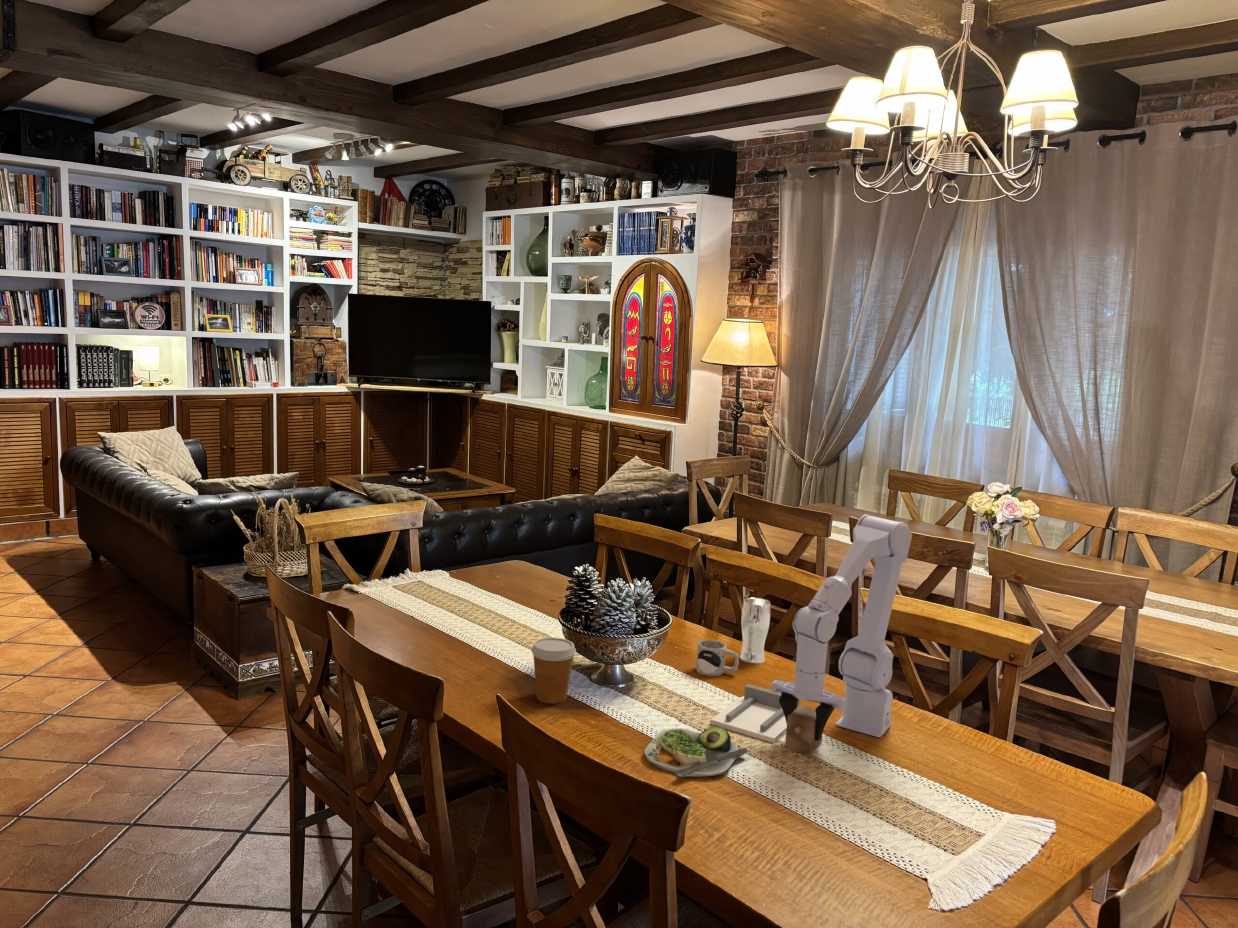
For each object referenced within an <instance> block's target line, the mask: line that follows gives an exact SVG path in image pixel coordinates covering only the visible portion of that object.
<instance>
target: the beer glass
mask: <svg viewBox="0 0 1238 928" xmlns="http://www.w3.org/2000/svg"><path fill="white" fill-rule="evenodd" d="M740 620H741V623H740V624H741V633H742V634H741V635H742V648H741V652H740V656H739V660H741V661H742V662H745V663H748V664H755V665H756V664H763V663H764V662H765V660H766V659H765V651H764V650H765V644H766V643H765V642H766V639H767V636H768V632H769V628H770V622H771V601H770V600H768V599H765V598H761V597H747V598H744V599H743V604H742V609H741V619H740Z"/></svg>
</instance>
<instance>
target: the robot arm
mask: <svg viewBox="0 0 1238 928" xmlns="http://www.w3.org/2000/svg"><path fill="white" fill-rule="evenodd" d="M912 538H913V535H912V532H911V530H910V527H909V525H908V524H907V523H906V522H903V521H896V520H891V519H888V518H882V517H877V516H872V514H869V513H867V514H863V515H862V516H861V517H859V519H858V520H857V522H856V524H855V527H854V528H853V529H852V540H853V542H852V545H851V546H850V548H849V550H848V551H847V553H846V555H845V556H844V559H843V560H842V562H841V564H840V566H839V568H838V570H837V572H836V574H835V575H832V576H829V577H826V578H825V580H824V581H823V583H822V585H821V586H820V587H819V589H818V591H817V592H816V593H815V595H814V596H813V598H812V599H811V601H810V602H809V604H808V605H807V606H804V607H802V608H799V610H798V611H797V612H796V614H795V616H794V619H793V621H792V630H793V631H794V634H795V636H794V637H795V638H794V641H795V642H796V645H797V646H796V648H797V649H796V656H795V657H796V658H795V669H794V680H793V682H791V681H789V682H788V681H783V680H777V679H775V680H774V681H772V682H771V689H770V690H771V692H774V693H777V692H779V693H781V697H780V698H779V703H780V705H781V707H782V709H783V712H784V715H785V719H786V724H787V718H788V715H790V714H791V713H792V712H793V711H794V710H795V709H797V704H798V699H800V701H809V702H813V703H817V704H819V705H818V706H817V707H816V708H815V709H816V710H815V711H816V729H815V740H816V741H819V740H820V739H821V737H822V738H823V733H824V729H825V727H826V725H827V722H828V720H829V719H830V717H831V715H832V714H833V711H835V709H836V710H838V711H842V716H840V718H839V719H838V720H837V721H836V722H835V726H837V727H839V728H844V729H847V730H851V731H853V732H854V731H855V732H859V733H862V734H864V735H865V734H866V735H869V736H873V737H876V738H882V736H883V735H884V734H885V733H886V731H887V730H888V729H889V728H890V727H891V719H892V718H891V716H892V708H893V707H892V706H893V692H892V691H891V690H889V689H887V688H886V687H887V686H888V685H889V683H890V682H891V679H892V677H893V661H894V654H893V653H892V651H891V649H889V647H888V646H887V644H886V643H885V639H886V634H887V630H888V627H889V622H890V618H891V613H892V609H893V605H894V601H895V597H896V593H897V590H898V585H899V580H900V577H901V572H902V567H903V565H904V563H906V562H907V559H908V555H909V550H910V547H911V542H912ZM872 559H873V561H874V564H875V565H874V569H873V572H872V573H873V574H872V577H871V581H870V585H869V590H868V594H867V598H866V602H865V607H864V610H863V615H862V619H861V622H860V627H859V632H858V635H857V636H855V637H852V638H851V639H849V640H847V641H846V644H845V647H844V650H843V651H842V653H841V655H840V656H839V660H838V672H839V673H840V674H841V675H842V681H843V682H845V689H844V697H843V696H839V695H837V694H835V693H833V692H831V691H828V690H825V689H824V687H825V677H826V667H827V656H828V648H829V647H828V646H829V645H828V644H829V641H830V640H831V639H832V638H833V636H835V633H836V631H837V625H838V622H839V619H840V616H839V614H840V613H841V612H842V610H843V609H844V607H845V605H846V604H847V602H848V601H849V599H850V598H851V596H852V594H853V593H852V591H853V590H852V584H853V583H854V582H855V580H856V579H857V578H858V576H859V575H860V574H861V572H863V570H864V569H865V568H866V566H867V565H868V564H869V563H870V561H871V560H872Z"/></svg>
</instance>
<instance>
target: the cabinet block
mask: <svg viewBox="0 0 1238 928" xmlns="http://www.w3.org/2000/svg"><path fill="white" fill-rule="evenodd" d="M815 710H816V708H813V707H808V706H806V705H802V704H799V707H798V708H797V709H795V710H794V711H793V712H792V713H791V714H790V715H788V718H787V729H786V733H785V742H784V743H785V744H784V748H785V749H787V750H790V751H795V752H798V753H801V754H805V755H808V756H810V755H811V754H812V753H813V752H814V751H815V750H816V749H817V748H818V747H819V746H820V745H821V744H823V743H822V741H823V736H822V737H821V739H820V740H819V741H816V740H815V729H816V711H815Z"/></svg>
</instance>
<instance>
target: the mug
mask: <svg viewBox="0 0 1238 928" xmlns="http://www.w3.org/2000/svg"><path fill="white" fill-rule="evenodd" d="M696 653H697V654H696V664H695V665H696V666H695V667H696V670H695V671H696V673H698V674H699V675H702V676H707V677H720V676H723V675H724V674H725V672H729V673H730V672H731V673H732V672H737V671H738V668H739V664H740V663H739V661H740V656H739V653H738V652H736V651H733V650H731V649H729V648H728V649H727V644H726V643H724V642H723V641H719V640H715V639H702V640H700V641H698V643H697V652H696ZM726 655H727V656H732V657H733V659H734V663H733V666H727V665H725V663H726Z"/></svg>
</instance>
